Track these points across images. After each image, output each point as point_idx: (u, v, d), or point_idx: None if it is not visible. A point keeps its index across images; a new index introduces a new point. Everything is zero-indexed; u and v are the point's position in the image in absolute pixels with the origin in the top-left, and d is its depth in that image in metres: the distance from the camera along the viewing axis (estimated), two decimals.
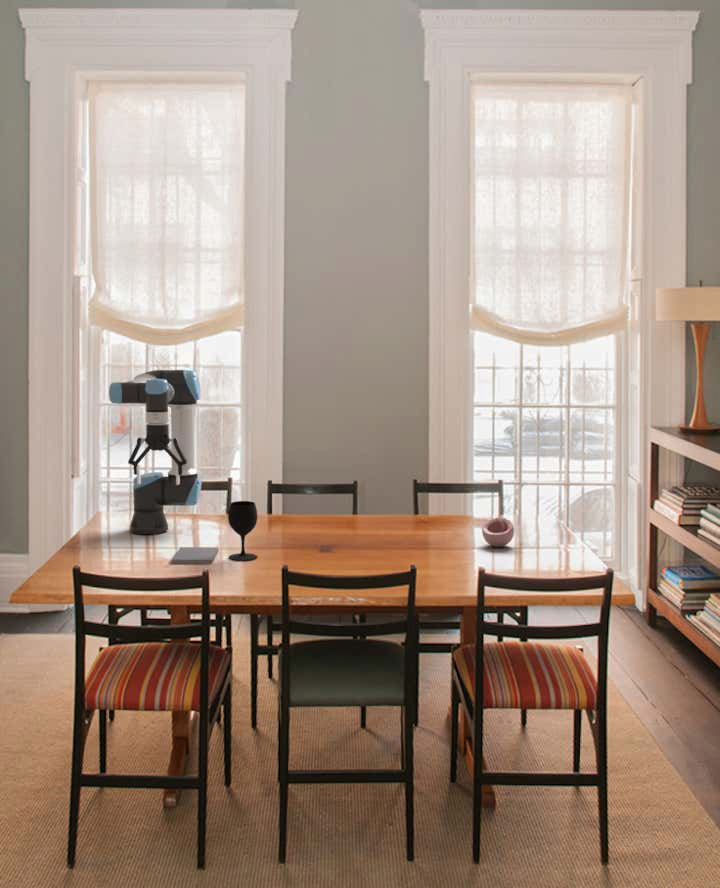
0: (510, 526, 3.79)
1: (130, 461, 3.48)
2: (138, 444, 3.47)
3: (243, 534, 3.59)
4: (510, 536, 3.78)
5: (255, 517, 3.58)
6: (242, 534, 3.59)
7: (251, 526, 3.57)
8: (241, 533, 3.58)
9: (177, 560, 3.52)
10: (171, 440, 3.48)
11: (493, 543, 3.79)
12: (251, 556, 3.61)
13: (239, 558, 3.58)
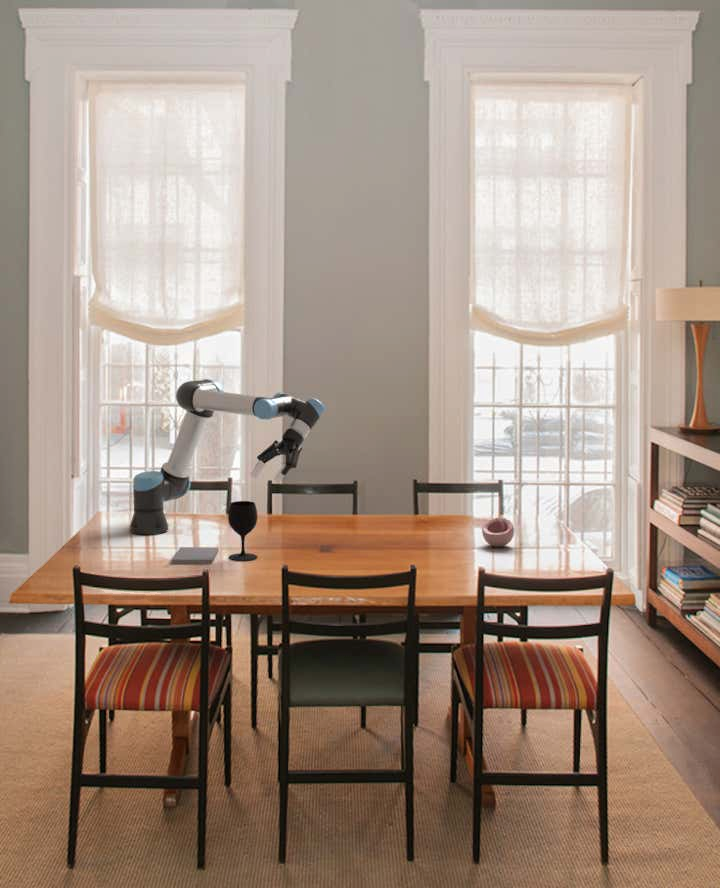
0: (510, 526, 3.79)
1: None
2: None
3: (243, 534, 3.59)
4: (510, 536, 3.78)
5: (255, 517, 3.58)
6: (242, 534, 3.59)
7: (251, 526, 3.57)
8: (241, 533, 3.58)
9: (177, 560, 3.52)
10: None
11: (493, 543, 3.79)
12: (251, 556, 3.61)
13: (239, 558, 3.58)
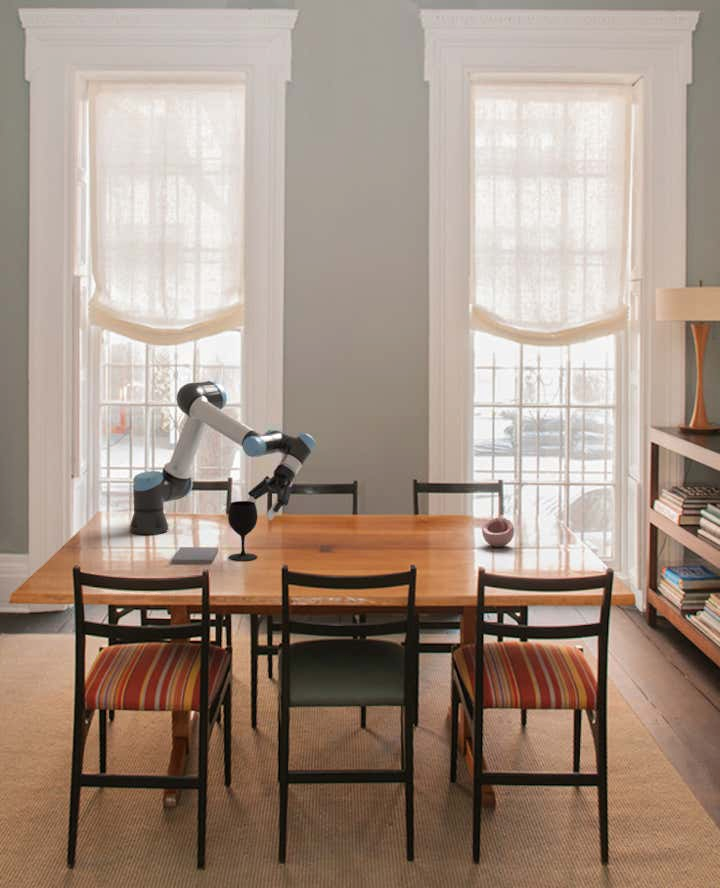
0: (510, 526, 3.79)
1: None
2: None
3: (243, 534, 3.59)
4: (510, 536, 3.78)
5: (255, 517, 3.58)
6: (242, 534, 3.59)
7: (251, 526, 3.57)
8: (241, 533, 3.58)
9: (177, 560, 3.52)
10: None
11: (493, 543, 3.79)
12: (251, 556, 3.61)
13: (239, 558, 3.58)
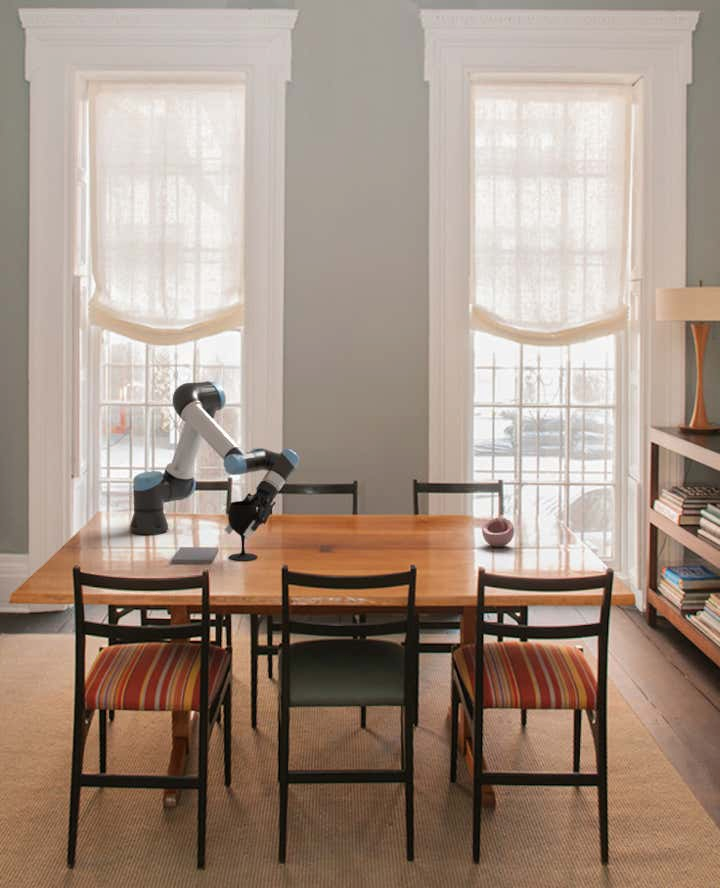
0: (510, 526, 3.79)
1: None
2: None
3: None
4: (510, 536, 3.78)
5: (255, 517, 3.58)
6: (242, 534, 3.59)
7: None
8: (241, 533, 3.58)
9: (177, 560, 3.52)
10: None
11: (493, 543, 3.79)
12: (251, 556, 3.61)
13: (239, 558, 3.58)
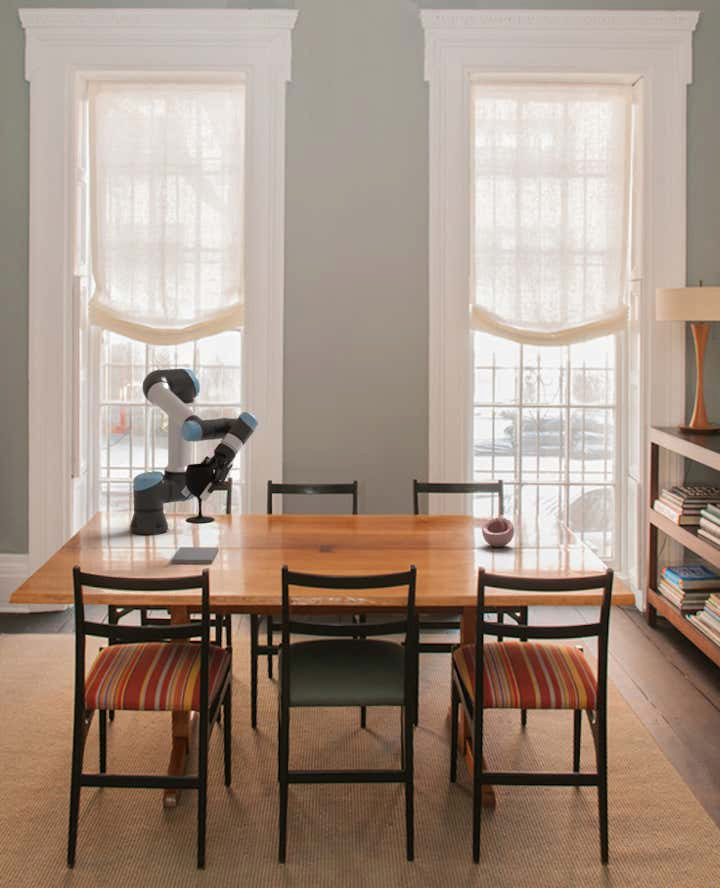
0: (510, 526, 3.79)
1: None
2: None
3: None
4: (510, 536, 3.78)
5: (212, 479, 3.55)
6: (199, 497, 3.57)
7: None
8: (198, 495, 3.56)
9: (177, 560, 3.52)
10: None
11: (493, 543, 3.79)
12: (208, 519, 3.59)
13: (196, 521, 3.56)
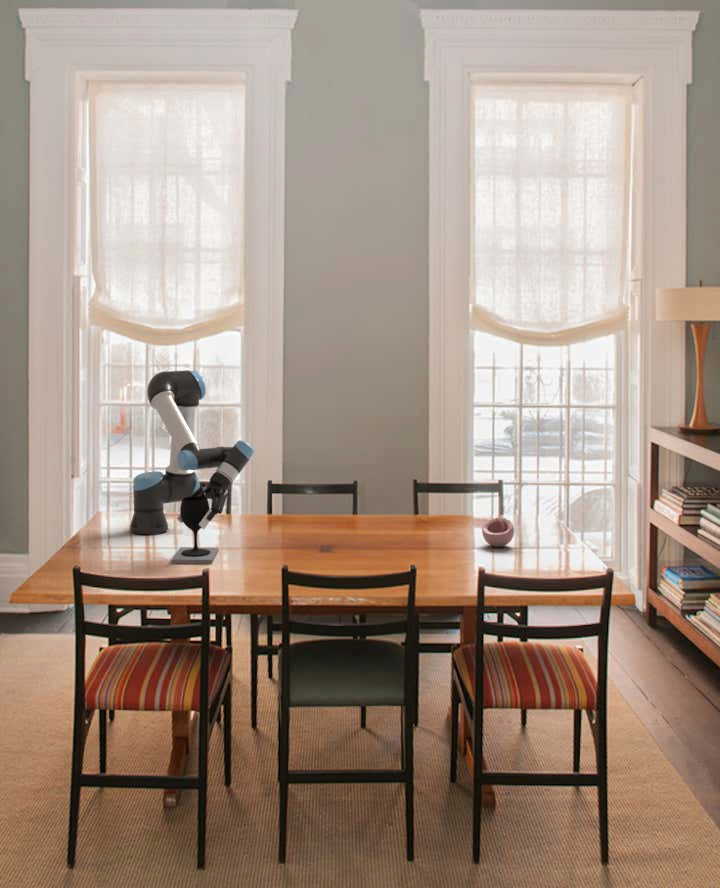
0: (510, 526, 3.79)
1: None
2: None
3: (195, 529, 3.58)
4: (510, 536, 3.78)
5: None
6: (195, 530, 3.59)
7: None
8: (193, 528, 3.58)
9: (177, 560, 3.52)
10: None
11: (493, 543, 3.79)
12: (204, 551, 3.61)
13: (191, 553, 3.58)
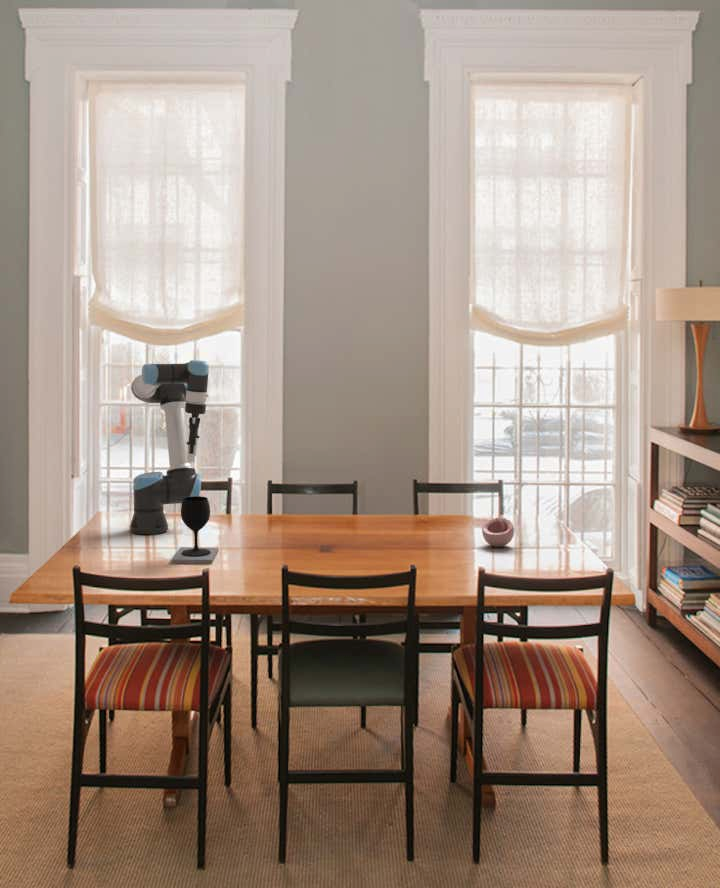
0: (510, 526, 3.79)
1: (195, 441, 3.64)
2: (197, 423, 3.66)
3: (196, 529, 3.58)
4: (510, 536, 3.78)
5: (208, 512, 3.57)
6: (195, 530, 3.59)
7: (204, 521, 3.57)
8: (194, 528, 3.58)
9: (177, 560, 3.52)
10: None
11: (493, 543, 3.79)
12: (204, 551, 3.61)
13: (192, 554, 3.58)
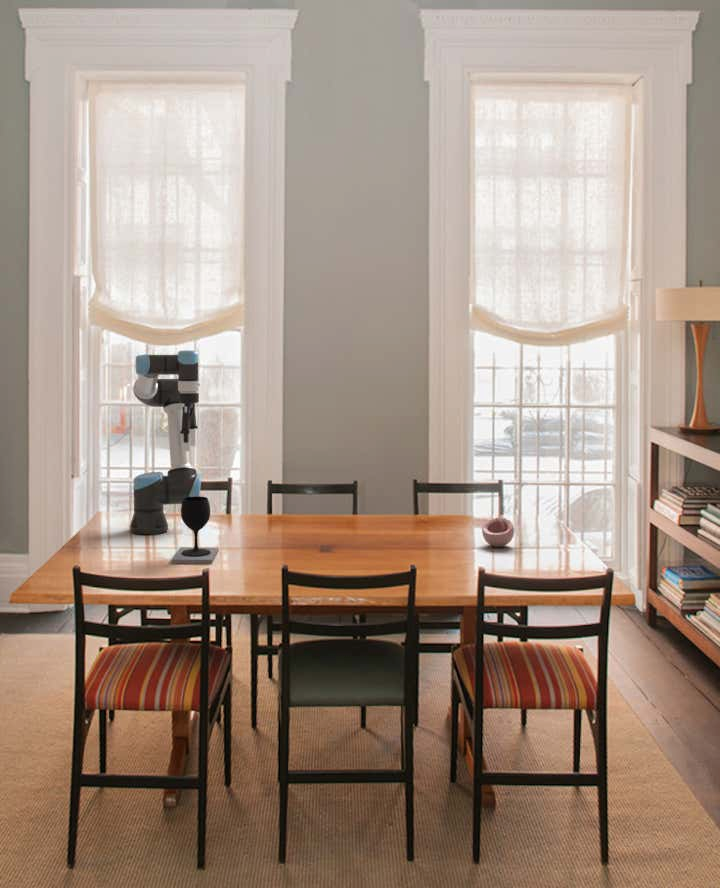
0: (510, 526, 3.79)
1: (188, 430, 3.66)
2: (189, 412, 3.68)
3: (196, 529, 3.58)
4: (510, 536, 3.78)
5: (208, 512, 3.57)
6: (195, 530, 3.59)
7: (204, 521, 3.57)
8: (194, 528, 3.58)
9: (177, 560, 3.52)
10: None
11: (493, 543, 3.79)
12: (204, 551, 3.61)
13: (192, 554, 3.58)
